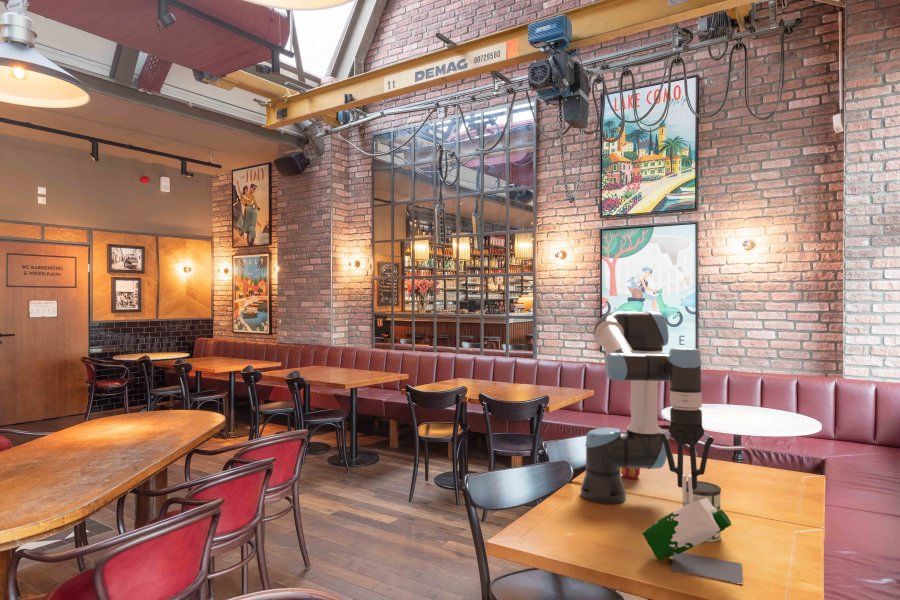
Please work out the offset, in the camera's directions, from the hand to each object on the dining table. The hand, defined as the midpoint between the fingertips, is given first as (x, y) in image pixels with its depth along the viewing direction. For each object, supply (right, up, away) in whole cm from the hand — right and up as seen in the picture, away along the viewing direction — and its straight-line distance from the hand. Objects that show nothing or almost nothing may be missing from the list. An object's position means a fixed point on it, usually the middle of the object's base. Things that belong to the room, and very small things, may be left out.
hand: (687, 500), depth 142 cm
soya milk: (-7, -13, +4) cm, 16 cm away
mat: (+4, -16, -1) cm, 17 cm away
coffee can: (+12, -17, +19) cm, 28 cm away
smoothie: (+10, -18, +74) cm, 77 cm away
